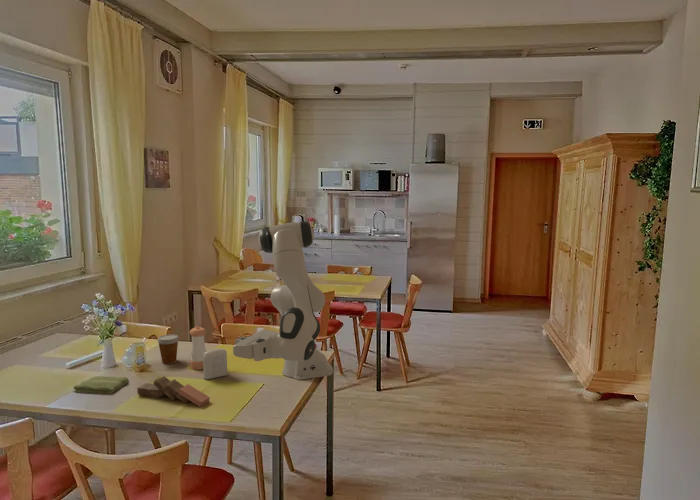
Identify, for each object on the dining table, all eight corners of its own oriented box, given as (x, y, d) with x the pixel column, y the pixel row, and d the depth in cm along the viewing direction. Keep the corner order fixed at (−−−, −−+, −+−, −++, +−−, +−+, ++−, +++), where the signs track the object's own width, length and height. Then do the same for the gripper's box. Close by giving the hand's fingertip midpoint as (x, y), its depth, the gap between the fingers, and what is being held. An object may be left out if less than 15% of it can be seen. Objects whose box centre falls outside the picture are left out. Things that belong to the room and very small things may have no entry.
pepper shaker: (187, 368, 225) (185, 327, 222) (197, 363, 232) (196, 323, 229) (200, 370, 222) (198, 329, 220) (210, 365, 229) (209, 325, 226)
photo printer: (225, 372, 220) (224, 345, 218) (228, 375, 216) (228, 348, 215) (202, 377, 214) (201, 350, 213) (205, 380, 211) (204, 352, 209)
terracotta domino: (210, 397, 190) (188, 384, 193) (201, 402, 185) (179, 388, 189) (208, 401, 190) (187, 388, 194) (200, 406, 186) (178, 393, 189)
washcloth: (92, 380, 212) (92, 373, 211) (130, 383, 209) (130, 375, 209) (71, 393, 199) (70, 385, 198) (111, 395, 196) (111, 388, 196)
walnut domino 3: (183, 392, 195) (164, 376, 198) (174, 396, 190) (155, 379, 193) (181, 396, 195) (162, 380, 199) (172, 400, 191) (153, 383, 194)
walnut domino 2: (168, 390, 198) (147, 386, 202) (159, 395, 193) (137, 391, 197) (168, 395, 198) (147, 391, 202) (159, 400, 193) (138, 395, 197)
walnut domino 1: (169, 385, 197) (145, 383, 200) (161, 390, 193) (137, 387, 195) (169, 390, 198) (145, 387, 200) (161, 395, 193) (137, 392, 196)
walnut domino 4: (195, 394, 193) (174, 379, 196) (187, 399, 188) (165, 383, 191) (194, 398, 193) (172, 383, 196) (185, 403, 189) (164, 388, 192)
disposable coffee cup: (167, 366, 227) (166, 341, 225) (154, 362, 232) (152, 338, 230) (184, 360, 235) (183, 336, 233) (171, 356, 240) (169, 332, 238)
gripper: (284, 327, 183) (252, 324, 188) (254, 345, 164) (220, 340, 169) (285, 344, 184) (253, 339, 189) (255, 363, 165) (220, 357, 170)
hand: (237, 340), depth 179 cm, fingers closed
